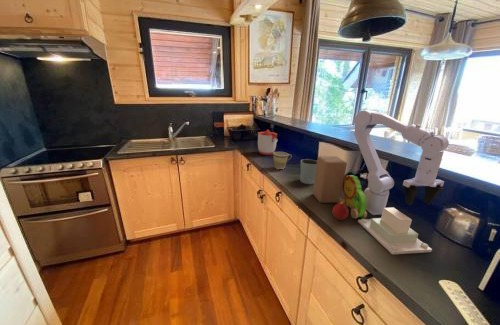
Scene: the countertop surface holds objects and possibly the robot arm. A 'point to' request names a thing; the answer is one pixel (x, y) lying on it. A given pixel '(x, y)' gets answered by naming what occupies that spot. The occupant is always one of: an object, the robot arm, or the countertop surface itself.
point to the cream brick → (396, 220)
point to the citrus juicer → (267, 142)
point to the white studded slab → (394, 237)
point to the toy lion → (354, 196)
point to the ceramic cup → (280, 159)
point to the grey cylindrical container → (308, 171)
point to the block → (329, 179)
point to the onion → (340, 211)
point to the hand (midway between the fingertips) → (417, 203)
